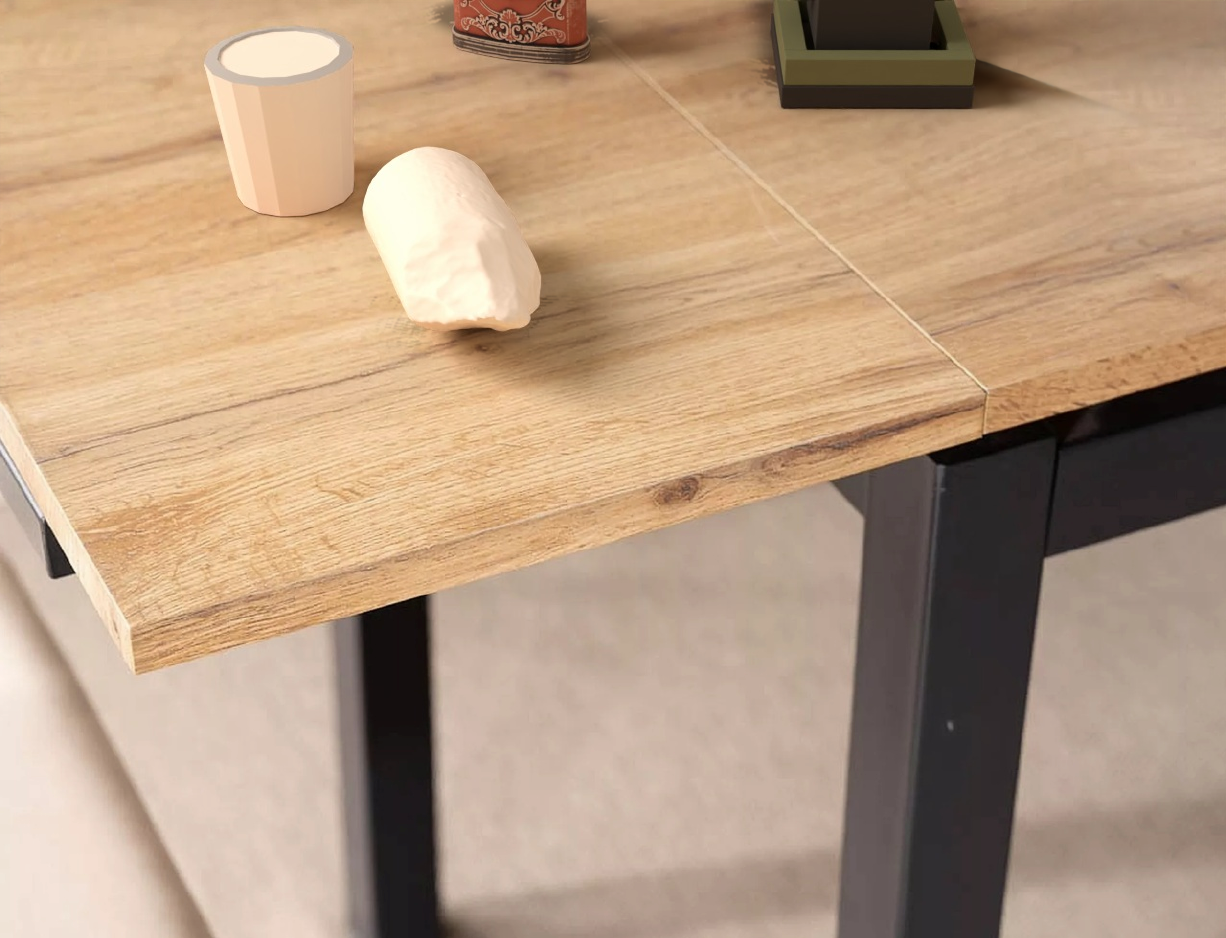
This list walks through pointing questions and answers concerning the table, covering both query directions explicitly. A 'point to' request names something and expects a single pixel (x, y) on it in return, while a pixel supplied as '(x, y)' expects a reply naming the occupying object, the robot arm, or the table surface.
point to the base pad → (871, 66)
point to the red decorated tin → (523, 29)
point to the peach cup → (286, 117)
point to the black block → (871, 24)
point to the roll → (450, 243)
